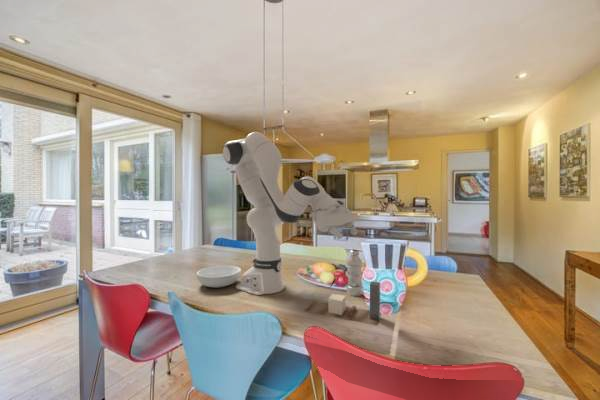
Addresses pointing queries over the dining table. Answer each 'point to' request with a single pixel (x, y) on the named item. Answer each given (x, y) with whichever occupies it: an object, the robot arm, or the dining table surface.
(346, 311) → the walnut strip
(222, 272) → the serving bowl
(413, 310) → the dining table surface
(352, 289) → the plastic bottle
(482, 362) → the dining table surface
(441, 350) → the dining table surface
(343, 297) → the cream cube
